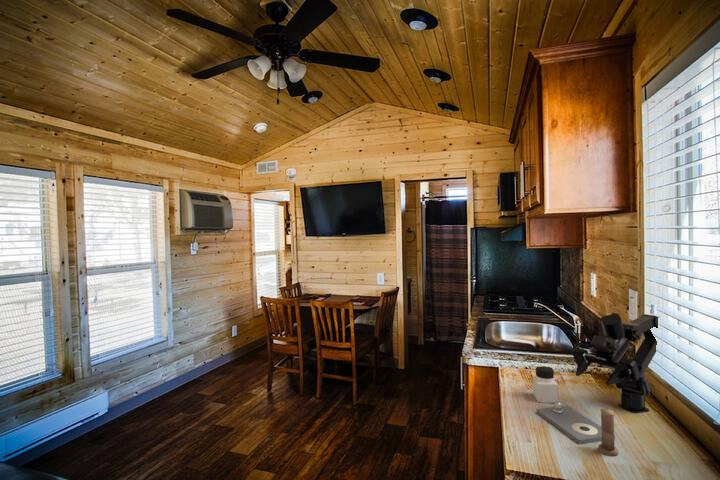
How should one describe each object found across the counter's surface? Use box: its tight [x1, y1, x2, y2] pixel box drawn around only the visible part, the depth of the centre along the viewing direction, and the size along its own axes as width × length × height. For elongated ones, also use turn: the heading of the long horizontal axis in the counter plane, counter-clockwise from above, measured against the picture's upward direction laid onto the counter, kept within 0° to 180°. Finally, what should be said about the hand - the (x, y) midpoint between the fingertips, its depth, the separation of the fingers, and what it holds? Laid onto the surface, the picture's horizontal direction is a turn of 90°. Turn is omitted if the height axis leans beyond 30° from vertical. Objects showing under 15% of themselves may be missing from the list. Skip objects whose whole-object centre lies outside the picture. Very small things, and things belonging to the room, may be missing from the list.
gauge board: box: [536, 405, 616, 445], centre depth 122 cm, size 12×20×1 cm, turn 10°
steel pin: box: [552, 400, 563, 414], centre depth 129 cm, size 3×3×3 cm
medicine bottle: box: [532, 365, 559, 404], centre depth 141 cm, size 7×7×12 cm
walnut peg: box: [598, 408, 619, 457], centre depth 107 cm, size 5×5×12 cm
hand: (591, 379), depth 118 cm, fingers open, 9 cm apart
